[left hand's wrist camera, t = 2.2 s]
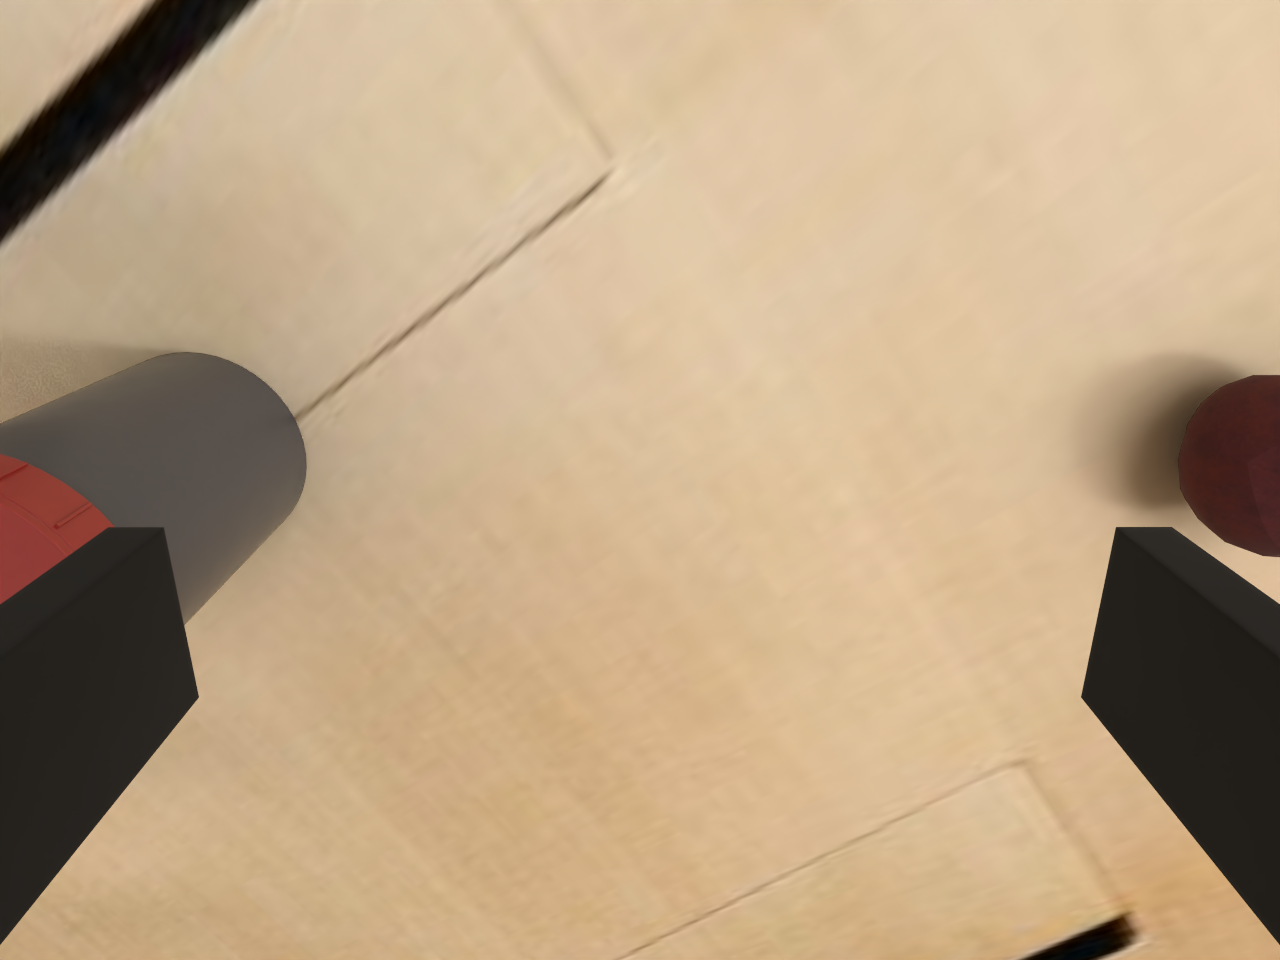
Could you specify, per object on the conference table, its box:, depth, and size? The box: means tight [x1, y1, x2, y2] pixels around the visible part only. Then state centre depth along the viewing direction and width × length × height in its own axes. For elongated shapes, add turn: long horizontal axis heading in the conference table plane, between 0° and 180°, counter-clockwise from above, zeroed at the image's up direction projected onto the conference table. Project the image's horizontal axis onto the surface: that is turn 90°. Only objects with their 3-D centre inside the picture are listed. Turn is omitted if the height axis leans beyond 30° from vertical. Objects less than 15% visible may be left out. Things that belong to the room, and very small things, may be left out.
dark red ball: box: [1178, 375, 1280, 557], centre depth 37 cm, size 7×8×7 cm
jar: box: [0, 353, 306, 625], centre depth 34 cm, size 9×9×16 cm
